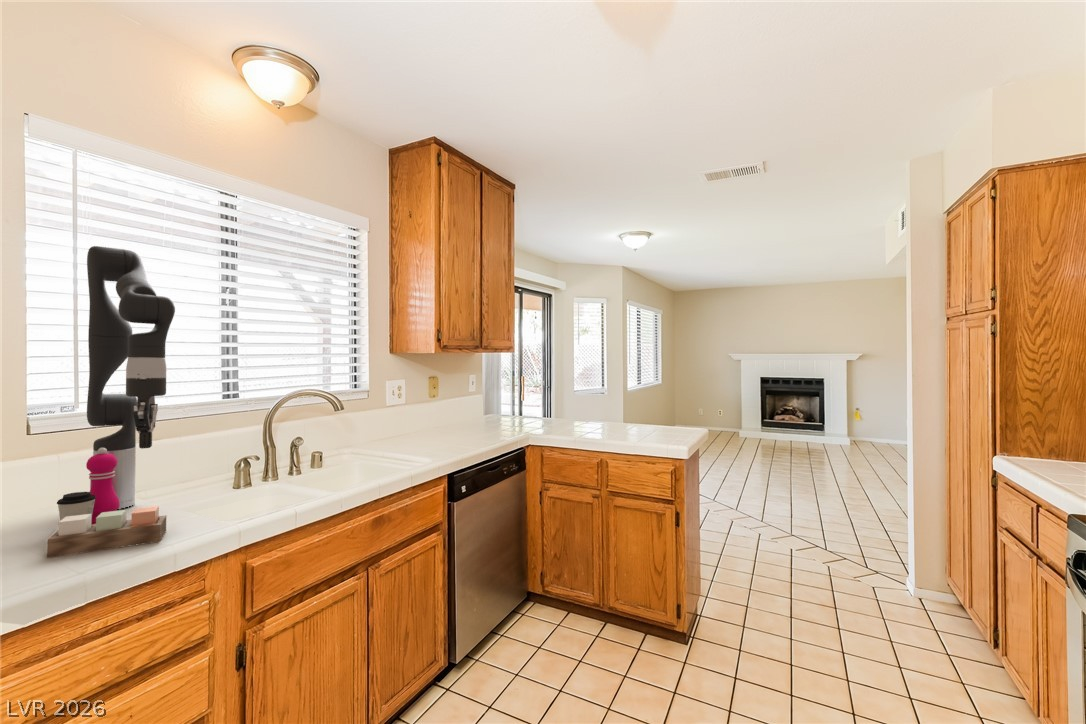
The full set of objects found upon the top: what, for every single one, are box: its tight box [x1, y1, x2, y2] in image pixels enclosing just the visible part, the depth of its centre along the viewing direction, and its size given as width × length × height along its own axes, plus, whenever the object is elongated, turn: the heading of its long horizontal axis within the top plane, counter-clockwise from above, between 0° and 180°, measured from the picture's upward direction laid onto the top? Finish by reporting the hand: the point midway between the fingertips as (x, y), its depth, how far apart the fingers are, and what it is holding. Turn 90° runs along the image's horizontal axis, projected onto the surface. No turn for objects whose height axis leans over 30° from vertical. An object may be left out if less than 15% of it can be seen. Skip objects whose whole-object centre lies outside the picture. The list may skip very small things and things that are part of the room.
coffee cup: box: [56, 491, 96, 522], centre depth 116 cm, size 7×7×10 cm
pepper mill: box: [85, 448, 120, 524], centre depth 125 cm, size 7×7×20 cm
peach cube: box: [130, 505, 160, 526], centre depth 114 cm, size 4×4×4 cm
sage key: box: [96, 509, 127, 531], centre depth 111 cm, size 4×4×4 cm
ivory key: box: [58, 514, 92, 536], centre depth 108 cm, size 4×4×4 cm
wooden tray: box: [46, 514, 167, 558], centre depth 111 cm, size 19×8×4 cm, turn 121°
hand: (145, 447), depth 114 cm, fingers closed
